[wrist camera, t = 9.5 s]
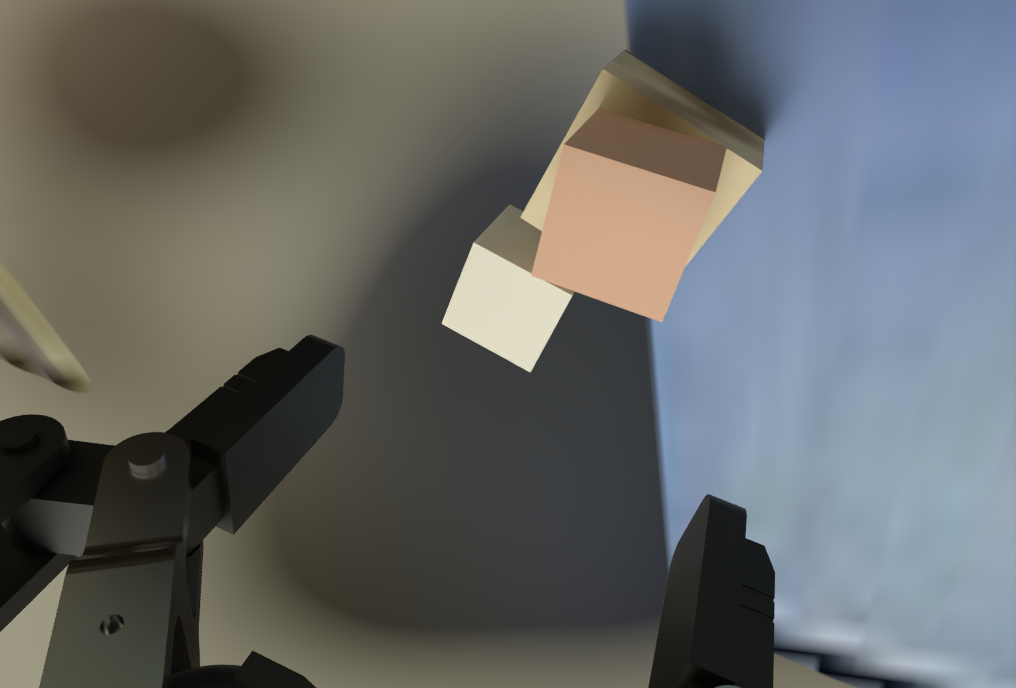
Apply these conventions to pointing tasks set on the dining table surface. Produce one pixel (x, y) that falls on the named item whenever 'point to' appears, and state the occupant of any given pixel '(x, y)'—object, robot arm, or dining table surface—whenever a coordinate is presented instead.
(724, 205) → the beech block
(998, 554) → the dining table surface
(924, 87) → the dining table surface
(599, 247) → the terracotta cube
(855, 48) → the dining table surface
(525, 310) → the cream cube
